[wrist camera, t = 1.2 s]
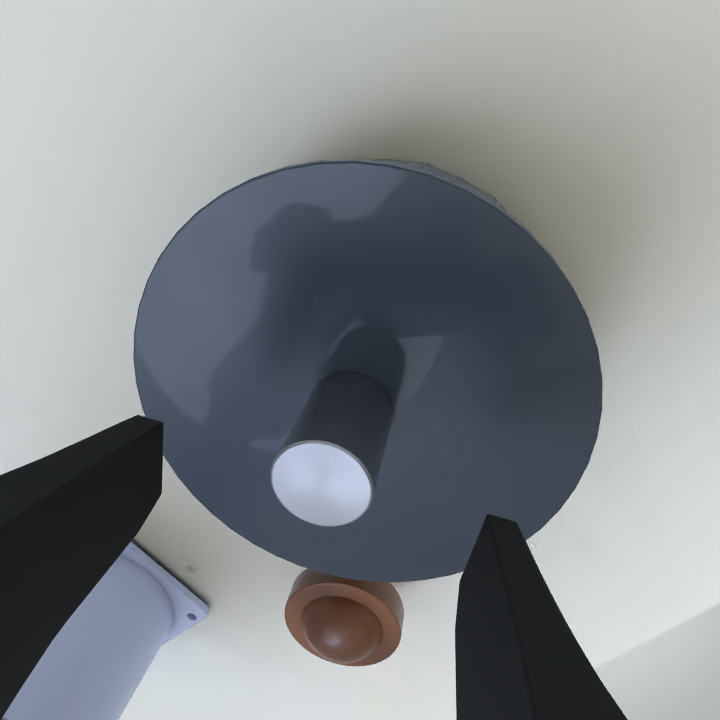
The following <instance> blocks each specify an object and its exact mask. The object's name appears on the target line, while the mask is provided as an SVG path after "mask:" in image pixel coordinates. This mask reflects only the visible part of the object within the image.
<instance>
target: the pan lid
mask: <svg viewBox="0 0 720 720" xmlns="http://www.w3.org/2000/svg"><path fill="white" fill-rule="evenodd" d="M134 366H135V375H136V384H137V388H138V392H139V396H140V400H141V404H142V408H143V411H144V414H145V417H147V418H150V419H154V420H157V421H161V422H164V429H163V455H164V457H165V458H166V460H167V461H168V463H169V464H170V466H171V467H172V469H173V470H174V472H175V473H176V475H177V476H178V478H179V479H180V480H181V481H182V482H183V484H184V485H185V486H186V487H187V488H188V489H189V491H190V492H191V493H192V494H193V495H194V497H195V498H197V499H198V500H199V501H200V502H201V503H202V504H203V505H204V506H205V507H206V508H207V509H208V510H209V511H210V512H211V513H212V514H213V515H214V516H216V517H217V518H218V519H219V520H221V521H222V522H223V523H224V524H225V525H227V526H228V527H229V528H230V529H232V530H233V531H235V532H236V533H238V534H239V535H241V536H242V537H244V538H245V539H247V540H248V541H250V542H251V543H253V544H255V545H257V546H259V547H260V548H262V549H264V550H266V551H268V552H270V553H272V554H274V555H275V556H278V557H280V558H283V559H285V560H287V561H290V562H292V563H295V564H297V565H299V566H303V567H306V568H309V569H312V570H315V571H318V572H322V573H325V574H330V575H335V576H339V577H344V578H349V579H357V580H366V581H377V582H405V581H418V580H427V579H433V578H438V577H443V576H449V575H453V574H456V573H459V572H463V571H464V570H465V567H466V565H467V562H468V560H469V557H470V555H471V552H472V550H473V548H474V545H475V543H476V540H477V538H478V535H479V533H480V530H481V528H482V525H483V523H484V520H485V518H486V515H487V514H491V515H494V516H498V517H501V518H505V519H508V520H512V521H515V522H517V524H518V526H519V527H520V530H521V532H522V534H523V536H524V538H525V540H527V539H528V538H530V537H531V536H532V535H534V534H535V533H536V532H538V531H539V530H540V529H541V528H542V527H543V526H544V525H545V524H546V523H547V522H548V521H549V520H550V519H551V518H552V517H553V516H554V515H555V514H556V513H557V512H558V511H559V510H560V509H561V507H562V506H563V505H564V503H565V502H566V500H567V499H568V498H569V496H570V495H571V494H572V492H573V491H574V490H575V488H576V486H577V484H578V482H579V480H580V479H581V477H582V475H583V473H584V471H585V469H586V467H587V465H588V463H589V460H590V457H591V454H592V451H593V448H594V445H595V442H596V439H597V436H598V430H599V424H600V418H601V412H602V373H601V366H600V360H599V353H598V347H597V344H596V341H595V338H594V335H593V332H592V329H591V326H590V322H589V319H588V316H587V314H586V312H585V310H584V308H583V306H582V304H581V302H580V300H579V298H578V296H577V294H576V292H575V290H574V288H573V286H572V285H571V283H570V281H569V280H568V278H567V277H566V275H565V274H564V273H563V271H562V270H561V268H560V267H559V265H558V264H557V263H556V261H555V260H554V258H553V257H552V255H551V254H550V253H549V252H548V251H547V250H546V249H545V248H544V247H543V246H542V244H541V243H540V242H539V241H538V240H537V239H536V238H535V237H534V236H533V235H532V234H531V233H530V232H529V231H528V230H527V229H526V228H525V227H524V226H523V225H522V224H520V223H519V222H518V221H516V220H515V219H514V218H513V217H511V216H510V215H509V214H508V213H506V212H505V211H504V210H503V209H501V208H500V207H499V206H498V205H496V204H494V203H493V202H491V201H489V200H487V199H486V198H484V197H482V196H481V195H479V194H477V193H475V192H474V191H472V190H470V189H469V188H467V187H465V186H463V185H460V184H458V183H455V182H453V181H451V180H448V179H446V178H443V177H441V176H438V175H436V174H434V173H431V172H428V171H424V170H420V169H416V168H412V167H408V166H404V165H400V164H397V163H390V162H381V161H372V160H363V159H340V160H320V161H314V162H309V163H303V164H297V165H291V166H287V167H284V168H281V169H278V170H275V171H272V172H269V173H266V174H263V175H260V176H257V177H254V178H252V179H250V180H248V181H246V182H244V183H242V184H240V185H238V186H236V187H234V188H232V189H230V190H228V191H226V192H224V193H222V194H221V195H220V196H218V197H217V198H216V199H214V200H213V201H211V202H210V203H209V204H207V205H206V206H205V207H203V208H202V209H200V210H199V211H198V212H197V213H196V214H195V215H194V216H193V217H192V218H191V219H190V220H189V221H188V222H187V223H186V224H185V225H184V226H183V227H182V228H181V229H180V230H179V231H178V232H177V233H176V234H175V235H174V237H173V238H172V240H171V241H170V242H169V244H168V245H167V247H166V248H165V249H164V251H163V252H162V253H161V255H160V256H159V258H158V260H157V262H156V264H155V266H154V268H153V270H152V272H151V274H150V276H149V278H148V280H147V283H146V286H145V289H144V292H143V295H142V298H141V301H140V304H139V308H138V314H137V320H136V326H135V331H134Z"/></svg>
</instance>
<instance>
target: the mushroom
mask: <svg viewBox="0 0 720 720" xmlns="http://www.w3.org/2000/svg"><path fill="white" fill-rule="evenodd" d="M403 618H404V608H403V604H402V601H401V598H400V596H399V594H398V592H397V591H396V590H395V588H394V587H393V586H392V585H391V584H390V583H389V582H377V581H366V580H357V579H349V578H344V577H339V576H335V575H330V574H325V573H322V572H318V571H315V570H312V569H309V568H307V569H306V570H304V571H303V572H302V573H301V574H300V575H299V576H298V577H297V579H296V580H295V582H294V584H293V587H292V589H291V592H290V595H289V598H288V600H287V603H286V607H285V620H286V624H287V627H288V629H289V631H290V633H291V634H292V636H293V637H294V638H295V639H296V641H297V642H298V643H299V644H300V645H301V646H302V647H304V648H305V649H306V650H308V651H309V652H311V653H312V654H314V655H316V656H318V657H320V658H322V659H324V660H326V661H329V662H332V663H336V664H340V665H347V666H366V665H372V664H376V663H378V662H381V661H383V660H385V659H386V658H388V657H389V656H390V655H391V654H392V653H393V652H394V651H395V650H396V648H397V647H398V645H399V642H400V639H401V632H402V625H403Z"/></svg>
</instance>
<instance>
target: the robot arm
mask: <svg viewBox="0 0 720 720" xmlns="http://www.w3.org/2000/svg"><path fill="white" fill-rule="evenodd" d="M163 429H164V422H161V421H157V420H154V419H150V418H147V417H143V416H139V415H137V416H135V417H132V418H130V419H127V420H125V421H123V422H121V423H118V424H116V425H114V426H112V427H110V428H107V429H105V430H103V431H101V432H99V433H97V434H95V435H92V436H90V437H88V438H86V439H84V440H82V441H79V442H77V443H75V444H73V445H71V446H68V447H66V448H64V449H62V450H59V451H57V452H55V453H53V454H51V455H48V456H46V457H44V458H42V459H39V460H37V461H34V462H32V463H29V464H27V465H24V466H22V467H19V468H17V469H15V470H12V471H10V472H7V473H5V474H2V475H0V720H119V718H120V716H121V714H122V713H123V711H124V709H125V707H126V706H127V704H128V702H129V700H130V699H131V697H132V695H133V693H134V692H135V690H136V688H137V686H138V685H139V683H140V681H141V679H142V678H143V676H144V674H145V673H146V671H147V669H148V667H149V666H150V664H151V662H152V660H153V659H154V657H155V655H156V653H157V652H158V650H159V648H160V646H161V645H162V644H164V643H166V642H167V641H169V640H170V639H172V638H174V637H175V636H177V635H179V634H180V633H182V632H183V631H185V630H187V629H188V628H190V627H191V626H193V625H195V624H196V623H198V622H200V621H201V620H203V619H204V618H205V617H206V616H207V614H208V612H209V608H208V606H207V605H206V604H205V603H204V602H203V601H201V600H200V599H199V598H198V597H197V596H195V595H194V594H193V593H192V592H191V591H189V590H188V589H187V588H186V587H185V586H184V585H182V584H181V583H180V582H179V581H178V580H176V579H175V578H174V577H173V576H172V575H170V574H169V573H168V572H167V571H166V570H164V569H163V568H162V567H161V566H160V565H158V564H157V563H156V562H155V561H154V560H153V559H151V558H150V557H149V556H148V555H147V554H145V553H144V552H143V551H142V550H141V549H139V548H138V547H137V546H136V545H135V544H133V543H132V542H131V541H132V539H133V538H134V537H135V535H136V534H137V533H138V531H139V530H140V528H141V527H142V525H143V523H144V522H145V520H146V519H147V517H148V515H149V514H150V512H151V510H152V509H153V507H154V505H155V504H156V502H157V500H158V499H159V497H160V495H161V494H162V462H163ZM455 653H456V710H457V720H627V718H626V717H625V715H624V714H623V712H622V711H621V709H620V708H619V707H618V705H617V704H616V702H615V701H614V699H613V698H612V696H611V695H610V693H609V692H608V691H607V689H606V688H605V686H604V685H603V683H602V682H601V680H600V679H599V677H598V675H597V674H596V672H595V670H594V669H593V667H592V666H591V664H590V662H589V661H588V659H587V657H586V656H585V654H584V652H583V650H582V649H581V647H580V645H579V644H578V642H577V640H576V639H575V637H574V635H573V633H572V631H571V630H570V628H569V626H568V624H567V623H566V621H565V619H564V617H563V615H562V613H561V611H560V609H559V608H558V606H557V604H556V602H555V600H554V598H553V596H552V594H551V592H550V590H549V588H548V586H547V584H546V582H545V580H544V578H543V576H542V574H541V572H540V570H539V568H538V566H537V564H536V562H535V560H534V558H533V556H532V553H531V551H530V549H529V547H528V545H527V543H526V540H525V538H524V536H523V534H522V532H521V530H520V527H519V526H518V524H517V522H515V521H512V520H508V519H505V518H501V517H498V516H494V515H491V514H487V515H486V518H485V520H484V523H483V525H482V528H481V530H480V533H479V535H478V538H477V540H476V543H475V545H474V548H473V550H472V552H471V555H470V557H469V560H468V562H467V565H466V567H465V570H464V572H463V575H462V577H461V580H460V585H459V595H458V604H457V615H456V626H455Z"/></svg>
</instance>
